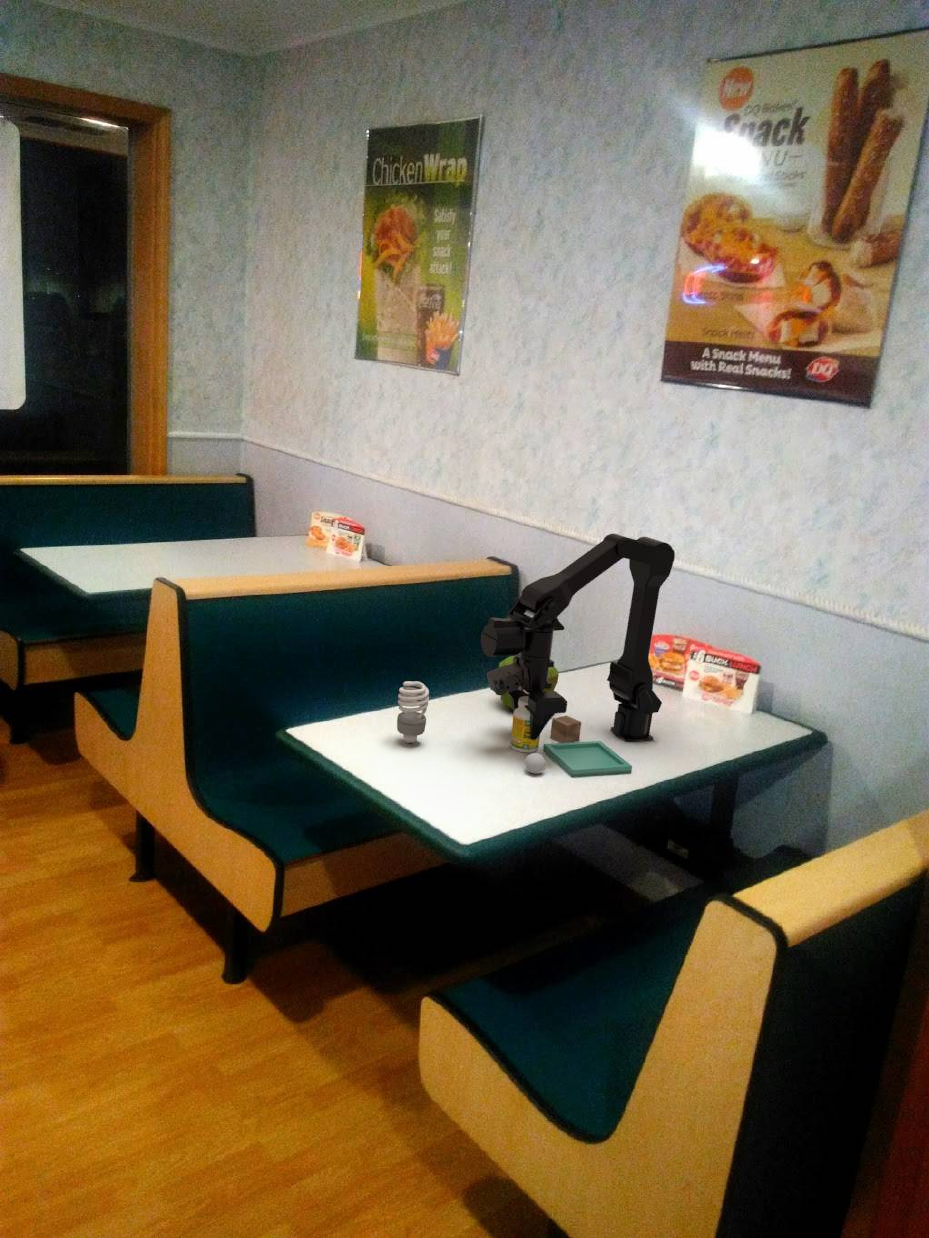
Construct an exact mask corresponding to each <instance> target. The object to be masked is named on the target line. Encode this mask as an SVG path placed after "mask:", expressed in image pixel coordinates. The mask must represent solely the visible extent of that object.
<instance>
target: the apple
mask: <svg viewBox="0 0 929 1238" xmlns="http://www.w3.org/2000/svg"><path fill="white" fill-rule="evenodd" d="M514 657H515V655H509V656H507V657H506V658H505V659H503V660H502V661H500V662H499V663H498V664H499V665H498V668H499V667H502V666H505V665H509V664H512V663H513V658H514ZM559 675H560V674H559V670H558V669H557V667H556V666H555V665H554V667H549V673H548V681H549V682H551V683H552V685H551V688H549V689H544V690H543V691H555V689H556V687H557V684H558V683H559V681H558V680H559ZM500 701H501V702H502V703H503V704H504V705H506V707H508V708H510V709H511V710H512V711H513V706H512V701H511V697H510V696H509V695H508V693H507V692H506V694H504V695H500Z"/></svg>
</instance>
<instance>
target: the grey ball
mask: <svg viewBox="0 0 929 1238" xmlns="http://www.w3.org/2000/svg"><path fill="white" fill-rule="evenodd" d="M524 760H525V761H524V767H525V769H526V770H527V772H529V773H531V774H539V773H541V772H543V771H544V770H545V767H546V760H545V758H544V755H542V754H540V753H539V752H531V753H530V754H528V755H527V756H526V757H525V759H524Z"/></svg>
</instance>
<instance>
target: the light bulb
mask: <svg viewBox="0 0 929 1238" xmlns="http://www.w3.org/2000/svg"><path fill="white" fill-rule="evenodd" d="M402 685H403V686H402V687H400V688H399V693H398V695H397V697H398V700H397V704H398V705H399V706H398V709H399V711H401V712H400V713H398V715H397V719H396V729H397V731H398V732H399V733H400V735H403V737H402V738H403V740H404V741H405V742H406V743H407V744H412V743H415V742H416V741H417V739H418V736H422V734H424V733H425V730H426V725H427V717H426V716H425V713H426V712H427V709H428V707H429V706H428V705H429V700H430V690H429V688H428V687H427V686H426V685H425V684H424V683H422V682H421V681H417V680H416V681H409V680H408V681H404V682H403V683H402ZM410 707H411V708H410Z"/></svg>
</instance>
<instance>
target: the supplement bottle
mask: <svg viewBox="0 0 929 1238" xmlns="http://www.w3.org/2000/svg"><path fill="white" fill-rule="evenodd" d="M528 697H529V696H524V697H520V698H519V701H518V706H519V707H518V708H516V709H515V711H514V712H513V715H512V724H511V725H512V726H511V733H510V734H511V737H510V748H512V749H513V750H514V751H516V752H520V753H530V754H532V753H536V751H537V750H538V749H539V746H540V738H541V734H540V735H539V736H538V738H537V739H536V740H531V739H530V713H529V712H528V711H527V709H526V708H525V707H524V706H525V705H528Z"/></svg>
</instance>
